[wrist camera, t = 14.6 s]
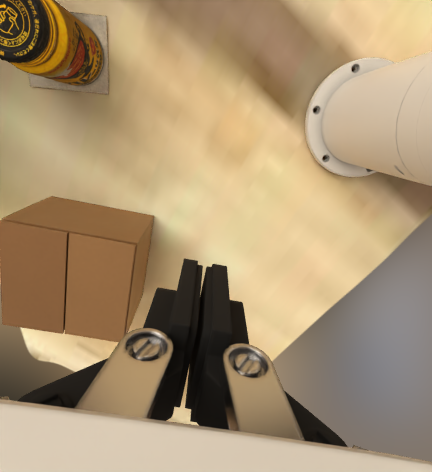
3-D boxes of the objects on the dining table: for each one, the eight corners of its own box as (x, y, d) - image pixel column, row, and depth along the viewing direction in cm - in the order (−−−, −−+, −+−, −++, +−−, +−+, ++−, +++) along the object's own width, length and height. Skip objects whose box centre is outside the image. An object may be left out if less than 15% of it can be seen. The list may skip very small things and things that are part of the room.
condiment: (109, 94, 33) (58, 78, 22) (31, 86, 33) (-63, 66, 22) (107, 16, 31) (48, -46, 19) (22, 6, 30) (-88, -64, 19)
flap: (135, 244, 29) (134, 246, 29) (123, 341, 33) (122, 343, 33) (70, 232, 29) (68, 233, 28) (65, 331, 32) (64, 333, 32)
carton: (154, 215, 38) (135, 245, 29) (142, 294, 42) (123, 343, 33) (51, 196, 37) (-4, 220, 28) (49, 278, 41) (1, 324, 32)
